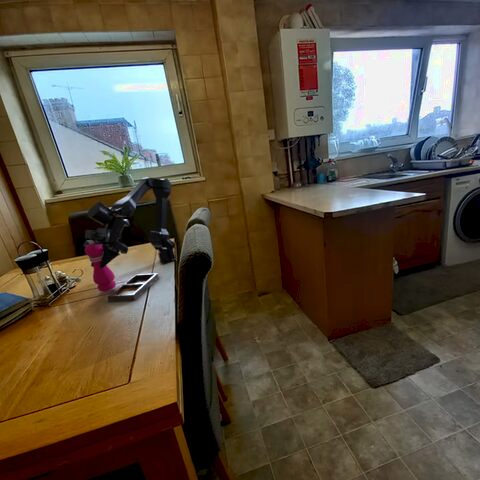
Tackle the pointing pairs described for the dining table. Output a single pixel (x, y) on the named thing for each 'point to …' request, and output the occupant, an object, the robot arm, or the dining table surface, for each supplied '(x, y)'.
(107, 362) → the dining table surface
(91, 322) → the dining table surface
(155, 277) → the stand
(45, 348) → the dining table surface
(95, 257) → the pepper mill
